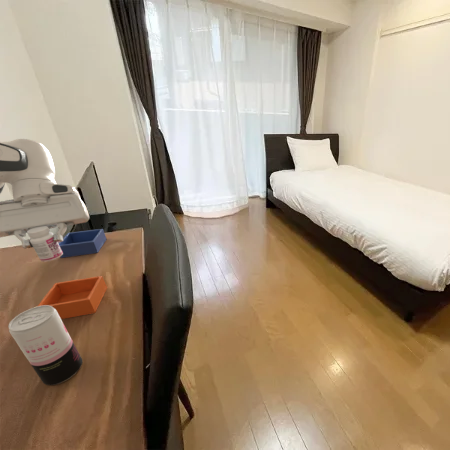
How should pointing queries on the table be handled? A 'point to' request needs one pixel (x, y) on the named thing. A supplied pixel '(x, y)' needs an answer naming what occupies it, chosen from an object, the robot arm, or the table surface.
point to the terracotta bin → (76, 296)
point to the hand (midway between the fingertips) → (43, 244)
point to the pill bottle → (44, 243)
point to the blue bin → (82, 243)
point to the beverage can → (46, 344)
